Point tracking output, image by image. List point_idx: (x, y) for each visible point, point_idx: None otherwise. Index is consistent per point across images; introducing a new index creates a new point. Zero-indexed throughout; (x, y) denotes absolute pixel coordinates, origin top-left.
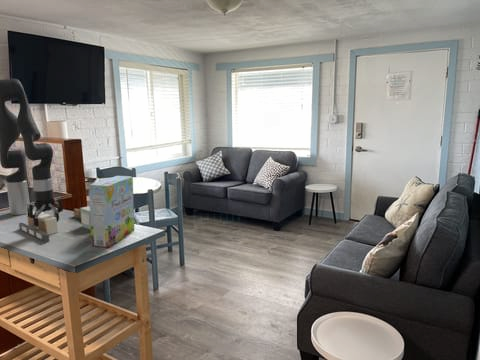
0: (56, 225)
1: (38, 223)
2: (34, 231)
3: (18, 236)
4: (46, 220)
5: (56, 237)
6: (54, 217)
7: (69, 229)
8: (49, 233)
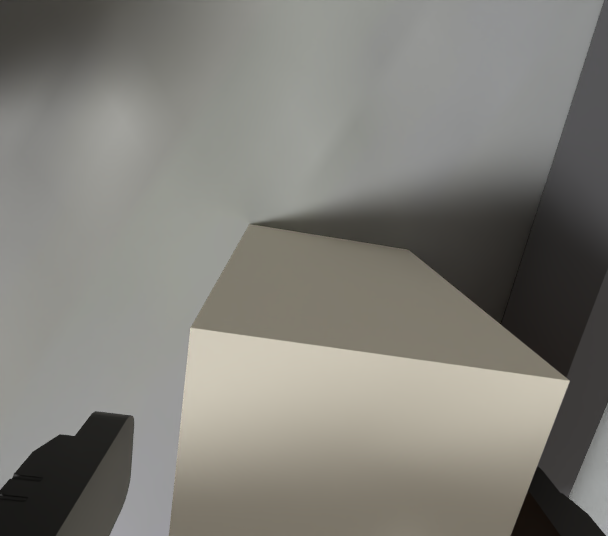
0: (249, 253)
1: (539, 503)
2: (600, 373)
3: (590, 512)
4: (549, 369)
5: (424, 9)
6: (212, 411)
7: (51, 183)
8: (383, 249)
